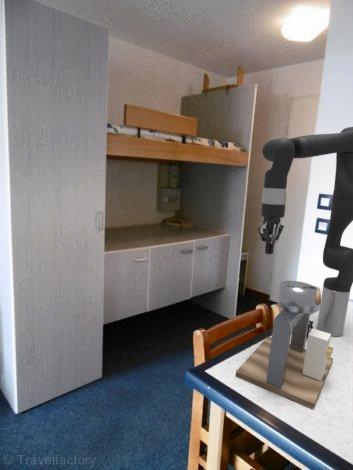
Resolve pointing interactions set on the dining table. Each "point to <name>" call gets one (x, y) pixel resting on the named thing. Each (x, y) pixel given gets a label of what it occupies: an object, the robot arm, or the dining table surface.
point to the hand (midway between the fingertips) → (269, 253)
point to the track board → (294, 383)
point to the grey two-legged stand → (289, 327)
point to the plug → (317, 354)
